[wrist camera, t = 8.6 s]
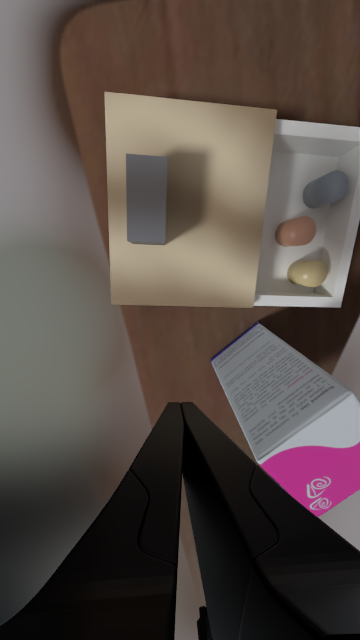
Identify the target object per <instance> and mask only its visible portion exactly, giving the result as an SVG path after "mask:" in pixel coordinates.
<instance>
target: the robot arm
mask: <svg viewBox="0 0 360 640" xmlns="http://www.w3.org/2000/svg"><path fill="white" fill-rule="evenodd" d="M182 474H183V481H184V487H185V492H186V497H187V503H188V508H189V514H190V519H191V525H192V530H193V536H194V541H195V546H196V552H197V557H198V563H199V568H200V574H201V579H202V585H203V590H204V596H205V601H206V606H207V607H205V606H202V607H200V608H199V612H200V618H199V619H198V621H197V628H198V638H199V640H360V551H359V550H358V549H356V548H355V547H354V546H353V545H351V544H350V543H349V542H348V541H346V540H345V539H344V538H342V537H341V536H340V535H339V534H337V533H336V532H335V531H334V530H333V529H332V528H330V527H329V526H328V525H327V524H325V523H324V522H323V521H322V520H320V519H319V518H318V517H317V516H315V515H314V514H313V513H312V512H311V511H309V510H308V509H307V508H306V507H304V506H303V505H302V504H301V503H300V502H298V501H297V500H296V499H295V498H294V497H292V496H291V495H290V494H289V493H288V492H286V491H285V490H284V489H283V488H282V487H281V486H280V485H279V484H277V483H276V482H275V481H274V480H273V479H272V478H271V477H270V476H269V475H268V474H267V473H266V472H264V471H263V470H262V469H261V468H260V467H259V466H258V465H256V463H255V462H254V461H253V460H252V459H251V458H250V457H249V456H248V455H247V454H246V453H245V452H244V451H242V450H241V449H240V448H239V447H238V446H237V445H236V444H235V443H234V442H233V441H232V440H231V439H230V438H229V437H228V436H227V435H226V434H225V433H224V432H223V431H222V430H221V429H220V428H218V427H217V426H216V425H215V424H214V423H213V422H212V421H211V420H210V419H209V418H208V417H207V416H206V415H205V414H204V413H203V412H202V411H201V410H200V409H199V408H198V407H197V406H196V405H195V404H193V403H192V402H181V404H180V403H179V402H169V403H168V404H167V405H166V407H165V409H164V410H163V412H162V414H161V416H160V417H159V419H158V421H157V422H156V424H155V426H154V427H153V429H152V431H151V432H150V434H149V436H148V438H147V439H146V441H145V443H144V444H143V446H142V448H141V449H140V451H139V452H138V454H137V456H136V458H135V459H134V461H133V463H132V464H131V466H130V468H129V470H128V471H127V472H126V474H125V476H124V477H123V479H122V481H121V482H120V484H119V486H118V487H117V489H116V490H115V492H114V493H113V495H112V497H111V498H110V499H109V501H108V502H107V504H106V505H105V506H104V508H103V509H102V510H101V512H100V513H99V515H98V516H97V517H96V519H95V520H94V521H93V523H92V524H91V525H90V526H89V528H88V529H87V530H86V532H85V533H84V534H83V536H82V537H81V538H80V539H79V541H78V542H77V543H76V545H75V546H74V547H73V549H72V550H71V551H70V552H69V554H68V555H67V556H66V558H65V559H64V560H63V562H62V563H61V564H60V565H59V567H58V568H57V569H56V571H55V572H54V573H53V575H52V576H51V577H50V578H49V580H48V581H47V582H46V583H45V585H44V586H43V587H42V588H41V589H40V591H38V593H37V594H36V595H35V596H34V597H33V598H32V599H31V600H30V601H29V602H28V603H27V604H26V605H25V606H24V607H23V608H22V609H21V610H20V611H18V612H17V613H16V614H15V615H14V616H13V617H11V618H10V619H9V620H7V621H6V622H4V623H3V624H2V625H0V640H174V633H175V632H174V631H175V610H176V590H177V568H178V548H179V528H180V508H181V487H182Z"/></svg>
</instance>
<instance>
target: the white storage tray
mask: <svg viewBox="0 0 360 640" xmlns="http://www.w3.org/2000/svg"><path fill="white" fill-rule="evenodd" d="M359 220H360V127H351V126H342V125H332V124H322V123H312V122H302V121H292V120H282V119H276V123H275V131H274V139H273V148H272V156H271V164H270V172H269V181H268V189H267V197H266V206H265V214H264V222H263V230H262V239H261V247H260V255H259V264H258V272H257V280H256V288H255V297H254V306H295V307H335V308H341V304H342V299H343V295H344V290H345V285H346V281H347V276H348V271H349V267H350V262H351V257H352V253H353V248H354V244H355V239H356V234H357V230H358V225H359Z"/></svg>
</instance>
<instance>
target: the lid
mask: <svg viewBox="0 0 360 640" xmlns="http://www.w3.org/2000/svg"><path fill="white" fill-rule="evenodd" d="M276 114H277V110H275V109H265V108H256V107H246V106H236V105H227V104H217V103H208V102H198V101H188V100H179V99H169V98H160V97H150V96H141V95H131V94H121V93H112V92H105V122H106V154H107V185H108V216H109V247H110V279H111V304H116V305H158V306H200V307H242V308H253V305H254V297H255V288H256V280H257V272H258V264H259V255H260V247H261V239H262V230H263V222H264V214H265V206H266V197H267V189H268V181H269V172H270V164H271V156H272V148H273V139H274V131H275V123H276Z"/></svg>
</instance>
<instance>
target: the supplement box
mask: <svg viewBox="0 0 360 640" xmlns="http://www.w3.org/2000/svg"><path fill="white" fill-rule="evenodd" d="M211 363H212V365H213V367H214V369H215V372H216V374H217V376H218V378H219V381H220V383H221V385H222V387H223V389H224V391H225V394H226V396H227V398H228V400H229V403H230V405H231V407H232V409H233V411H234V413H235V415H236V417H237V420H238V422H239V424H240V426H241V428H242V430H243V433H244V435H245V437H246V439H247V441H248V443H249V445H250V448H251V450H252V452H253V454H254V456H255V459H256V461H257V462H258V463H259V464H260V465H261V466H262V467H263V468H264V469H265V470H266V471H267V472H268V473H269V474H270V475H271V476H272V477H273V478H274V479H275V480H276V481H277V482H278V483H279V484H280V485H281V486H282V487H283V488H284V489H285V490H286V491H287V492H288V493H289V494H290V495H291V496H292V497H294V498H295V499H296V500H297V501H298V502H300V503H301V504H302V505H303V506H304V507H306V508H307V509H308V510H309V511H311V512H312V513H313V514H314V515H315V516H317V517H318V516H320V515H322V514H324V513H325V512H327V511H328V510H330V509H331V508H333V507H334V506H336V505H337V504H339V503H340V502H341V501H343V500H344V499H346V498H347V497H348V496H350V495H352V494H353V493H355V492H356V491H358V490H359V489H360V400H359V398H358V397H357V396H356V395H355V393H354V392H353V391H352V390H350V389H349V388H347V387H346V386H345V385H343V384H342V383H340V382H339V381H338V380H336V379H335V378H334V377H332V376H331V375H330V374H328V373H327V372H326V371H324V370H323V369H321V368H320V367H319V366H317V365H316V364H314V363H313V362H312V361H310V360H309V359H308V358H306V357H305V356H304V355H302V354H301V353H300V352H298V351H297V350H295V349H294V348H293V347H291V346H290V345H288V344H287V343H286V342H284V341H283V340H282V339H280V338H279V337H277V336H276V335H275V334H273V333H272V332H270V331H269V330H268V329H267V328H265V327H264V326H263V325H261V324H260V323H259V322H256V323H255V324H253V325H252V326H251V327H249V328H248V329H247V330H246V331H245V332H243V333H242V334H241V335H240V336H239V337H237V338H236V339H235V340H234V341H232V342H231V343H230V344H229V345H227V346H226V347H225V348H223V349H222V350H221V351H220V352H219V353H217V354H216V355H215V356H214V357H212V358H211Z"/></svg>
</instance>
